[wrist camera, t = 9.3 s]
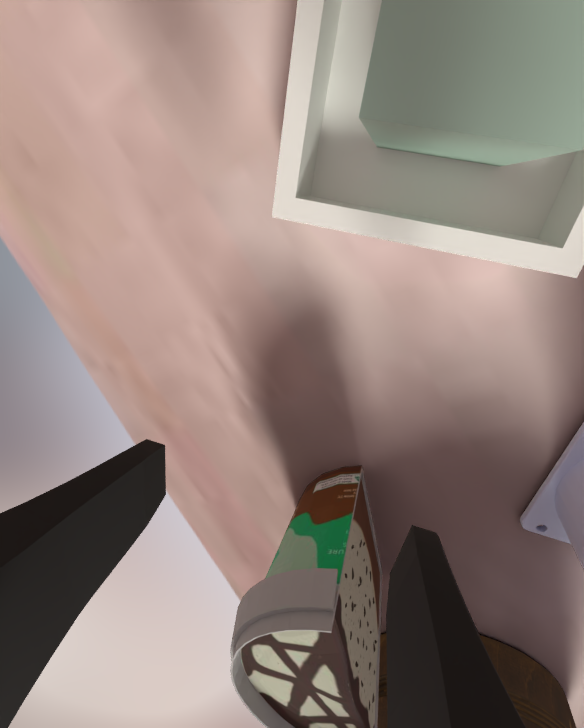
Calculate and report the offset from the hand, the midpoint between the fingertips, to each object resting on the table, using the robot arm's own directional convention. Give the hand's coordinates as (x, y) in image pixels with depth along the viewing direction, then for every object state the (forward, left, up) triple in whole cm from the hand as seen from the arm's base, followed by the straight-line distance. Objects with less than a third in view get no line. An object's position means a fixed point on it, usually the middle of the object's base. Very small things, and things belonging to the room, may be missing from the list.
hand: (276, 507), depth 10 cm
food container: (-2, +12, -11) cm, 16 cm away
